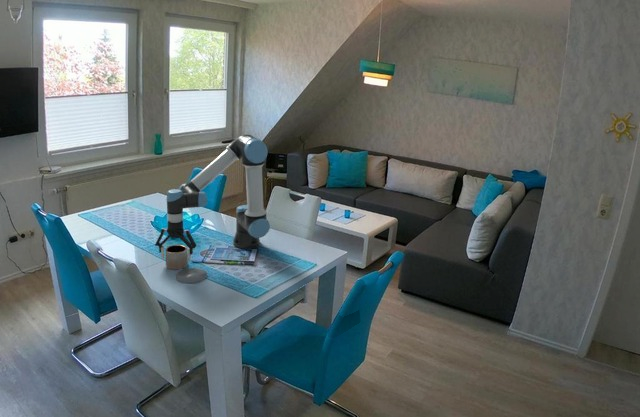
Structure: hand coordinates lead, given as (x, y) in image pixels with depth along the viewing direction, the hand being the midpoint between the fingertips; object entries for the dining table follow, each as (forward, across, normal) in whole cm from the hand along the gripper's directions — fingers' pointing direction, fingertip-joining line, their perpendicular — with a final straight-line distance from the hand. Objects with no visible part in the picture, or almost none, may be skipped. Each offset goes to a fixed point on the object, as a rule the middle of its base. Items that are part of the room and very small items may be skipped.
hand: (176, 259), depth 256 cm
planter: (+4, 0, 0) cm, 4 cm away
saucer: (+4, -10, +11) cm, 15 cm away
